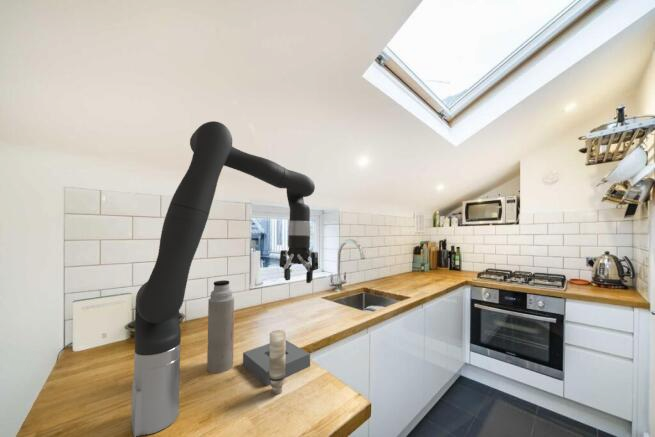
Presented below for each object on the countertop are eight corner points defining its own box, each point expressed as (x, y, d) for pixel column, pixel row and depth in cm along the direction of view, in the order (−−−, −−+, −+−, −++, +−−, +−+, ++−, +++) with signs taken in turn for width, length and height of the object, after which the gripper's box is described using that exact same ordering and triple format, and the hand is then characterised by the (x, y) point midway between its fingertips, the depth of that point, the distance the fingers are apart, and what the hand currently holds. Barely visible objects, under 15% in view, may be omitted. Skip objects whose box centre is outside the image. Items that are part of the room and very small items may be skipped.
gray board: (266, 386, 74) (267, 372, 74) (242, 364, 86) (243, 352, 86) (310, 366, 85) (310, 353, 85) (283, 349, 97) (283, 338, 97)
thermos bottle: (235, 359, 89) (236, 278, 90) (230, 372, 81) (231, 283, 83) (211, 361, 88) (212, 279, 89) (203, 374, 80) (205, 284, 81)
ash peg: (274, 398, 69) (274, 337, 69) (266, 390, 72) (266, 333, 73) (288, 391, 72) (288, 333, 72) (279, 384, 75) (280, 328, 76)
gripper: (276, 233, 89) (274, 281, 88) (311, 234, 82) (310, 285, 82) (288, 233, 95) (287, 277, 94) (322, 234, 89) (321, 281, 88)
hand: (298, 281), depth 88 cm, fingers open, 8 cm apart
